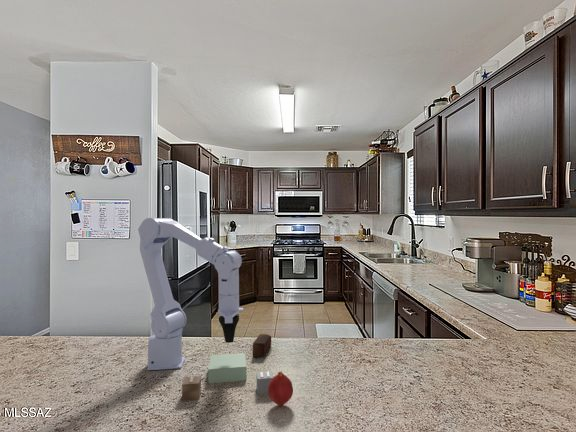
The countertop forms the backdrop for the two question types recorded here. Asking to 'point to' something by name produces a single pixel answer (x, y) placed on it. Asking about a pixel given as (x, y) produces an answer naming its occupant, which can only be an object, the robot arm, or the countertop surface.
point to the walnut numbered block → (191, 388)
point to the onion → (280, 389)
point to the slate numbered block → (263, 382)
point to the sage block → (227, 368)
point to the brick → (261, 345)
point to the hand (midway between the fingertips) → (229, 341)
